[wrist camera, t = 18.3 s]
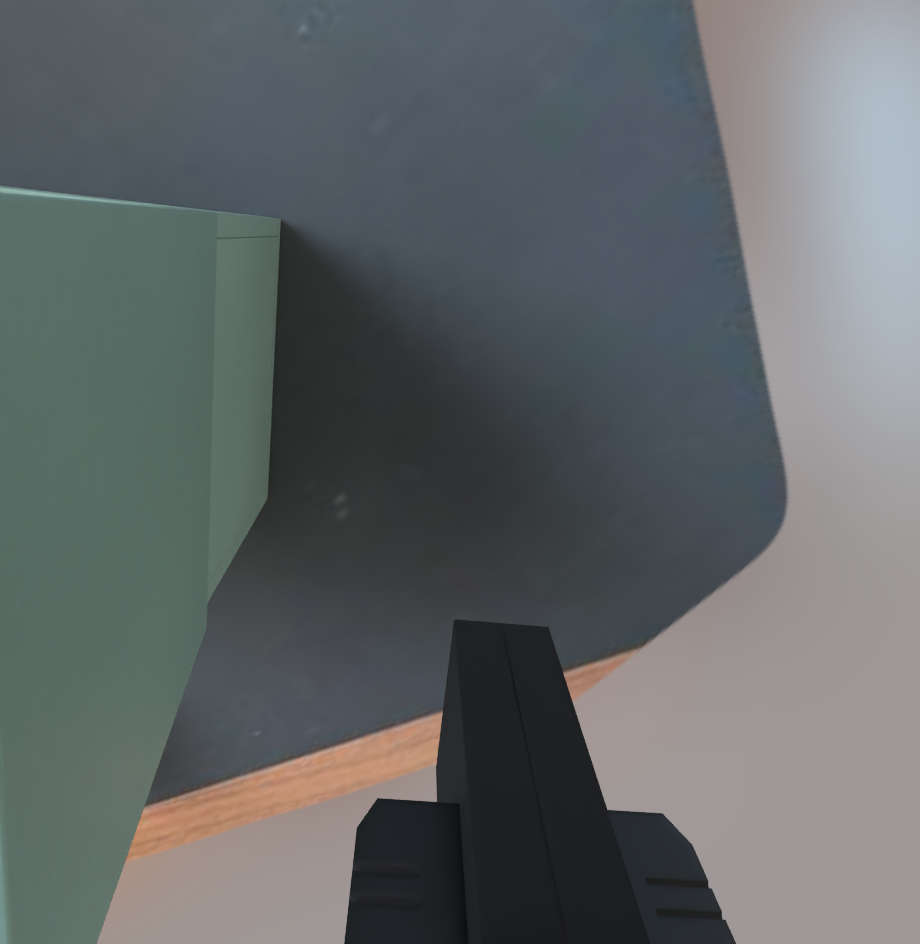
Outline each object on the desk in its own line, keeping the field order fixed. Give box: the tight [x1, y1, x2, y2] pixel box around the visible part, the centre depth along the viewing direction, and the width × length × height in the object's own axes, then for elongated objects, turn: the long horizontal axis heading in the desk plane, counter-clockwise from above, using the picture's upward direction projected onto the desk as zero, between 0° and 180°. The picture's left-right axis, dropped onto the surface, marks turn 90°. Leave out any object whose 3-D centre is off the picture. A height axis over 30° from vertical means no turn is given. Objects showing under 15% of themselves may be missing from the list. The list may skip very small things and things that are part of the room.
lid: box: [0, 192, 217, 944], centre depth 18 cm, size 16×14×1 cm
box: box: [0, 186, 281, 603], centre depth 32 cm, size 16×14×13 cm
